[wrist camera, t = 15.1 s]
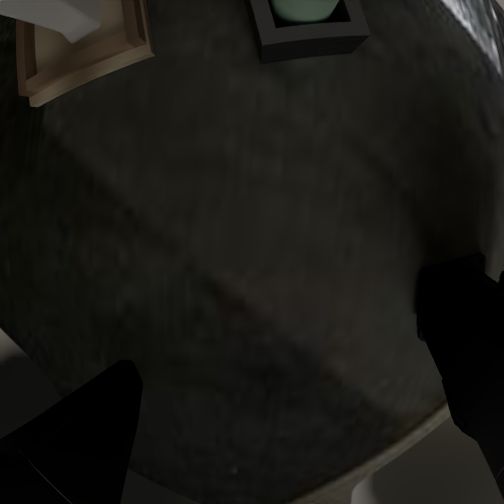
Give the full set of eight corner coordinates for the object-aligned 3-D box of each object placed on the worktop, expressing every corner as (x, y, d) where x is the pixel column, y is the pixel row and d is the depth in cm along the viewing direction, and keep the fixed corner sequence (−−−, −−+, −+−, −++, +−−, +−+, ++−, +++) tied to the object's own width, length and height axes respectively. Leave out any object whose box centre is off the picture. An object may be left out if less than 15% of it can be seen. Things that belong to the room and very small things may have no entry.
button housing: (327, -19, 16) (340, -46, 12) (351, 53, 17) (370, 35, 14) (241, -10, 16) (239, -39, 12) (261, 64, 18) (262, 45, 14)
